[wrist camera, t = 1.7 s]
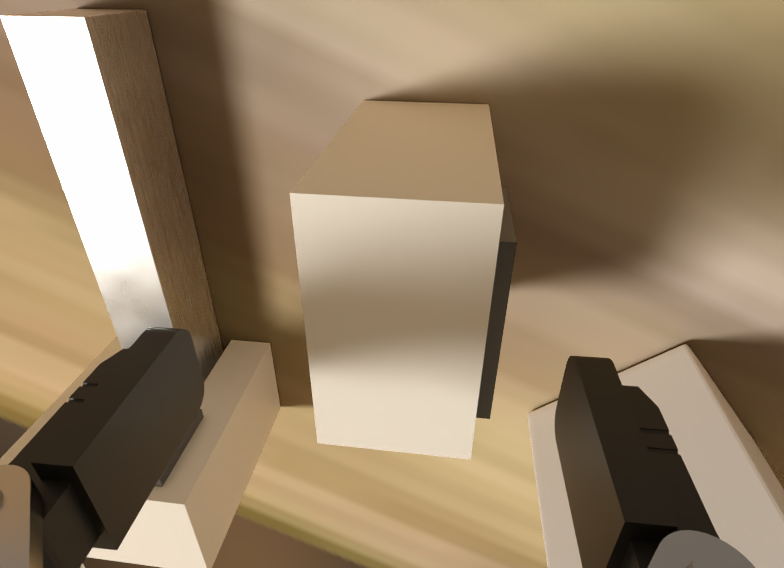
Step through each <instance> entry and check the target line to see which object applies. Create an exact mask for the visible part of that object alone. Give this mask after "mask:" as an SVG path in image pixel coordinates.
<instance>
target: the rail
mask: <svg viewBox="0 0 784 568" xmlns="http://www.w3.org/2000/svg"><path fill="white" fill-rule="evenodd" d="M0 17H1V19H2V22H3V25H4V27H5V30H6V33H7V36H8V38H9V41H10V44H11V47H12V49H13V52H14V55H15V58H16V60H17V63H18V66H19V69H20V71H21V74H22V77H23V79H24V82H25V85H26V88H27V90H28V93H29V96H30V99H31V101H32V104H33V107H34V110H35V112H36V115H37V118H38V121H39V123H40V126H41V129H42V132H43V134H44V137H45V140H46V142H47V145H48V148H49V151H50V153H51V156H52V159H53V162H54V164H55V167H56V170H57V173H58V175H59V178H60V181H61V184H62V186H63V189H64V192H65V195H66V197H67V200H68V203H69V205H70V208H71V211H72V214H73V216H74V219H75V222H76V225H77V227H78V230H79V233H80V236H81V238H82V241H83V244H84V247H85V249H86V252H87V255H88V258H89V260H90V263H91V266H92V268H93V271H94V274H95V277H96V279H97V282H98V285H99V288H100V290H101V293H102V296H103V299H104V301H105V304H106V307H107V310H108V312H109V315H110V318H111V321H112V323H113V326H114V329H115V331H116V334H117V337H118V340H119V342H120V345H121V348H122V349H129V348H130V347H131V346H132V345H133V343H134V342H135V341H136V340H137V339H138V338H139V336H140V335H141V334H142V333H143V332H144V331H145V330H146V329H147V328H149V327H163V328H178V329H186V330H188V331H189V333H190V334H191V337H192V340H193V344H194V347H195V351H196V355H197V358H198V362H199V366H200V369H201V373H202V377H203V380H204V382H205V380H206V379H207V377H208V376H209V374H210V372H211V371H212V369H213V368H214V366H215V365H216V363H217V361H218V360H219V358H220V357H221V355H222V354H223V352H224V351H223V347H222V342H221V338H220V333H219V329H218V325H217V320H216V316H215V311H214V307H213V303H212V298H211V294H210V289H209V285H208V281H207V276H206V272H205V267H204V263H203V258H202V254H201V250H200V245H199V241H198V236H197V232H196V228H195V223H194V219H193V214H192V210H191V206H190V201H189V197H188V192H187V188H186V183H185V179H184V175H183V170H182V166H181V161H180V157H179V153H178V148H177V144H176V139H175V135H174V131H173V126H172V122H171V117H170V113H169V108H168V104H167V100H166V95H165V91H164V86H163V82H162V78H161V73H160V69H159V64H158V60H157V56H156V51H155V47H154V42H153V38H152V33H151V29H150V25H149V20H148V16H147V11H146V10H132V9H67V10H57V11H47V12H37V13H27V14H17V15H7V16H0Z"/></svg>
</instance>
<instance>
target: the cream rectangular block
mask: <svg viewBox="0 0 784 568" xmlns="http://www.w3.org/2000/svg"><path fill="white" fill-rule="evenodd" d="M290 200H291V209H292V218H293V227H294V236H295V245H296V254H297V263H298V272H299V281H300V290H301V299H302V308H303V317H304V326H305V335H306V344H307V353H308V362H309V371H310V380H311V389H312V398H313V407H314V416H315V424H316V433H317V442H318V443H321V444H331V445H340V446H349V447H358V448H368V449H377V450H386V451H396V452H405V453H414V454H423V455H433V456H442V457H451V458H461V459H471V451H472V443H473V436H474V428H475V421H476V418H486V419H490V414H491V407H492V401H493V394H494V388H495V381H496V375H497V368H498V362H499V355H500V349H501V342H502V336H503V329H504V323H505V316H506V309H507V303H508V296H509V290H510V283H511V277H512V270H513V264H514V257H515V251H516V244H517V241H516V235H515V230H514V224H513V218H512V213H511V207H510V201H509V196H508V190H507V187H501V181H500V174H499V168H498V161H497V155H496V148H495V142H494V135H493V129H492V122H491V115H490V109H489V104H462V103H431V102H401V101H370V100H364V101H363V102H362V103H361V104H360V106H359V107H358V108H357V109H356V111H355V112H354V113H353V114H352V116H351V117H350V118H349V119H348V121H347V122H346V123H345V124H344V126H343V127H342V128H341V129H340V131H339V132H338V133H337V134H336V136H335V137H334V138H333V139H332V141H331V142H330V143H329V144H328V146H327V147H326V148H325V149H324V151H323V152H322V153H321V154H320V156H319V157H318V158H317V159H316V161H315V162H314V163H313V164H312V166H311V167H310V168H309V169H308V171H307V172H306V173H305V174H304V176H303V177H302V178H301V179H300V181H299V182H298V183H297V184H296V186H295V187H294V188H293V189H292V191H291V192H290Z"/></svg>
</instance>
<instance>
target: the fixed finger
mask: <svg viewBox="0 0 784 568" xmlns="http://www.w3.org/2000/svg"><path fill="white" fill-rule="evenodd" d="M120 350H122V348H121V345H120V342H119V340H118V337H116V338H115V339H114V340H113V341H112V342H111V343H110V344H109V346H108V347H107V348H106V349H105V350H104V351H103V352H102V353H101V354H100V355H99V356H98V357H97V358H96V359H95V360H94V361H93V362H92V363H91V364H90V365H89V366H88V367H87V369H86V370H85V371H84V372H83V373H82V374H81V375H80V376H79V377H78V378H77V379H76V380H75V381H74V382H73V383H72V384H71V385H70V386H69V387H68V388H67V389H66V390H65V392H64V393H63V394H62V395H61V396H60V397H59V398H58V399H57V400H56V401H55V402H54V403H53V404H52V405H51V406H50V407H49V408H48V409H47V410H46V411H45V412H44V413H43V415H42V416H41V417H40V418H39V419H38V420H37V421H36V422H35V423H34V424H33V425H32V426H31V427H30V428H29V429H28V430H27V431H26V432H25V433H24V434H23V435H22V437H21V438H20V439H19V440H18V441H17V442H16V443H15V444H14V445H13V446H12V447H11V448H10V449H9V450H8V451H7V452H6V453H5V454H4V455H3V456H2V457H1V459H0V465H8V464H9V463H10V462H11V461H12V460H13V459H14V458H15V457H16V456H17V455H18V454H19V452H20V451H21V450H22V449H23V448H24V447H25V446H26V445H27V444H28V442H29V441H30V440H31V439H32V438H33V437H34V436H35V435H36V434H37V433H38V431H39V430H40V429H41V428H42V427H43V426H44V425H45V424H46V423H47V422H48V420H49V419H50V418H51V417H52V416H53V415H54V414H55V413H56V412H57V410H58V409H59V408H60V407H61V406H62V405H63V404H64V403H65V402H68V401H69V397H70V396H71V395H72V394H73V393H74V392H75V391H76V390H77V388H78V387H79V386H83V382H84V381H85V380H86V378H87V377H88V376H89V375H90V374H91V373H92V372H93V371H94V370H95V369H96V367H97V366H98V365H99V364H100V363H102V362H103V361H105V360H107V359H108V358H110V357H111V356H113V355H114V354H116V353H117V352H119V351H120ZM279 410H280V401H279V395H278V389H277V383H276V377H275V370H274V364H273V358H272V352H271V345H270V343H263V342H251V341H240V340H231V341H230V343H229V344H228V346H227V347H226V349H225V350H224V352H223V354H222V355H221V357H220V358H219V360H218V361H217V363H216V365H215V366H214V368H213V369H212V371H211V372H210V374H209V376H208V377H207V379H206V380H205V382H204V397H203V401H202V405H201V407H200V409H199V411H198V413H197V415H196V416H195V418H194V420H193V422H192V423H191V425H190V427H189V428H188V430H187V432H186V434H185V435H184V437H183V439H182V440H181V442H180V444H179V446H178V447H177V449H176V451H175V452H174V454H173V456H172V457H171V459H170V461H169V463H168V464H167V466H166V468H165V469H164V471H163V473H162V475H161V476H160V478H159V480H158V481H157V483H156V485H155V487H154V488H153V490H152V492H151V493H150V495H149V497H148V498H147V500H146V502H145V504H144V505H143V507H142V509H141V510H140V512H139V514H138V516H137V517H136V519H135V521H134V522H133V524H132V526H131V528H130V529H129V531H128V533H127V534H126V536H125V538H124V539H123V541H122V543H121V545H120V546H119V548H118V550H109V549H100V548H92V549H91V551H90V552H89V554H88V555H87V557H91V558H98V559H105V560H112V561H120V562H127V563H134V564H142V565H148V566H155V567H163V568H212V566H213V564H214V561H215V559H216V557H217V554H218V552H219V550H220V547H221V545H222V543H223V540H224V538H225V536H226V533H227V531H228V529H229V526H230V524H231V522H232V519H233V517H234V515H235V512H236V510H237V508H238V505H239V503H240V501H241V498H242V496H243V494H244V491H245V489H246V487H247V484H248V482H249V480H250V477H251V475H252V473H253V470H254V468H255V466H256V463H257V461H258V459H259V456H260V454H261V452H262V449H263V447H264V445H265V442H266V440H267V438H268V435H269V433H270V431H271V428H272V426H273V424H274V421H275V419H276V417H277V414H278V412H279Z"/></svg>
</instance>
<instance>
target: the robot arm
mask: <svg viewBox="0 0 784 568" xmlns="http://www.w3.org/2000/svg"><path fill="white" fill-rule="evenodd" d="M203 397H204V380H203V377H202V373H201V369H200V366H199V362H198V358H197V355H196V351H195V347H194V344H193V340H192V337H191V334H190V333H189V331H188V330H186V329H178V328H163V327H149V328H147V329H146V330H145V331H144V332H143V333H142V334H141V335H140V336H139V338H138V339H137V340H136V341H135V342H134V343H133V345H132V346H131V347H130V348H129V349H122V350H120V351H119V352H117V353H116V354H114V355H113V356H111V357H110V358H108V359H107V360H105V361H103V362H102V363H100V364H99V365H98V366H97V367H96V369H95V370H94V371H93V372H92V373H91V374H90V375H89V376H88V377H87V378H86V380H85V381H84V382H83V386H79V387H78V388H77V390H76V391H75V392H74V393H73V394H72V395H71V396H70V397H69V401H68V402H65V403H64V404H63V405H62V406H61V407H60V408H59V409H58V410H57V412H56V413H55V414H54V415H53V416H52V417H51V418H50V419H49V420H48V422H47V423H46V424H45V425H44V426H43V427H42V428H41V429H40V430H39V431H38V433H37V434H36V435H35V436H34V437H33V438H32V439H31V440H30V441H29V442H28V444H27V445H26V446H25V447H24V448H23V449H22V450H21V451H20V452H19V454H18V455H17V456H16V457H15V458H14V459H13V460H12V461H11V462H10V463H9V464H8V465H0V568H85V567H84V565H83V562H84V560H85V558H86V557H87V555H88V554H89V552H90V551H91V549H92V548H100V549H109V550H118V548H119V546H120V545H121V543H122V541H123V539H124V538H125V536H126V534H127V533H128V531H129V529H130V528H131V526H132V524H133V522H134V521H135V519H136V517H137V516H138V514H139V512H140V510H141V509H142V507H143V505H144V504H145V502H146V500H147V498H148V497H149V495H150V493H151V492H152V490H153V488H154V487H155V485H156V483H157V481H158V480H159V478H160V476H161V475H162V473H163V471H164V469H165V468H166V466H167V464H168V463H169V461H170V459H171V457H172V456H173V454H174V452H175V451H176V449H177V447H178V446H179V444H180V442H181V440H182V439H183V437H184V435H185V434H186V432H187V430H188V428H189V427H190V425H191V423H192V422H193V420H194V418H195V416H196V415H197V413H198V411H199V409H200V407H201V405H202V401H203ZM555 439H556V444H557V449H558V454H559V458H560V463H561V468H562V473H563V477H564V482H565V487H566V492H567V497H568V501H569V506H570V511H571V516H572V520H573V525H574V530H575V535H576V539H577V544H578V549H579V554H580V558H581V563H582V568H755V567H754V565H753V564H752V563H751V562H750V561H749V560H748V559H747V558H746V557H745V556H744V555H743V554H741V553H740V552H739V551H738V550H737V549H735V548H734V547H732V546H731V545H729V544H728V543H726V542H724V541H723V540H721V539H720V538H719V536H718V534H717V532H716V530H715V528H714V526H713V524H712V522H711V520H710V517H709V515H708V513H707V511H706V509H705V507H704V504H703V502H702V500H701V498H700V496H699V494H698V491H697V489H696V487H695V485H694V483H693V481H692V478H691V476H690V474H689V472H688V470H687V468H686V465H685V463H684V461H683V459H682V457H681V455H679V454H678V448H677V446H676V444H675V442H674V439H673V437H672V435H669V429H668V426H667V424H666V422H665V420H664V418H663V416H662V413H661V411H660V409H659V407H658V406H657V405H656V404H655V403H654V402H653V401H652V400H651V399H650V398H649V397H648V396H647V395H646V394H645V393H644V392H643V391H642V390H641V389H640V388H639V387H638V386H625V385H622V383H621V381H620V378H619V376H618V373H617V371H616V368H615V366H614V363H613V362H612V360H611V359H609V358H598V357H583V356H570V357H569V359H568V361H567V364H566V369H565V373H564V377H563V381H562V385H561V390H560V394H559V398H558V402H557V406H556V411H555Z"/></svg>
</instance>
